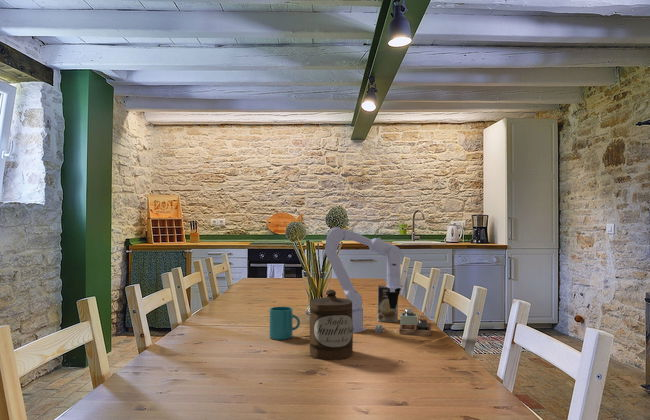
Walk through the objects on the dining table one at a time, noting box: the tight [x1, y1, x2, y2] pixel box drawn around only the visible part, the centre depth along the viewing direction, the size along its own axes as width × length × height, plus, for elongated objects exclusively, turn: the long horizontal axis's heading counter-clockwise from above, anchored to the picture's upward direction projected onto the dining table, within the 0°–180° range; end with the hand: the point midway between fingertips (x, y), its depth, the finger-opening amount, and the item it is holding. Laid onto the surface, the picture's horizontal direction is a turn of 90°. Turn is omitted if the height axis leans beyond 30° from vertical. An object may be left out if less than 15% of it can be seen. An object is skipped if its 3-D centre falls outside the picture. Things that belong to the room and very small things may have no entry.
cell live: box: [418, 314, 428, 330], centre depth 186 cm, size 4×4×7 cm
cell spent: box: [404, 308, 414, 316], centre depth 200 cm, size 4×4×7 cm
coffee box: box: [376, 285, 399, 323], centre depth 209 cm, size 9×6×16 cm
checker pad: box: [374, 324, 398, 334], centre depth 189 cm, size 9×8×2 cm
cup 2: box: [399, 312, 419, 325], centre depth 200 cm, size 7×7×5 cm
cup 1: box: [268, 306, 301, 341], centre depth 180 cm, size 9×12×11 cm
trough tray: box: [398, 324, 432, 337], centre depth 187 cm, size 12×10×3 cm
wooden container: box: [309, 289, 354, 361], centre depth 159 cm, size 15×15×22 cm
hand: (393, 307), depth 192 cm, fingers open, 7 cm apart
